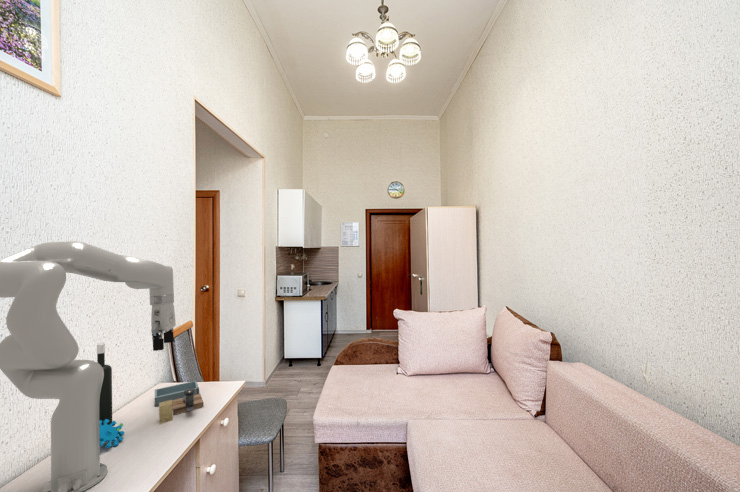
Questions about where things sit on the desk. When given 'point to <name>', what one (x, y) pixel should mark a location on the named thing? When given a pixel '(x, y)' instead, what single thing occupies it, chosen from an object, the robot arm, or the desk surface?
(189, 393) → the crank
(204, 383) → the desk surface
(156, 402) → the tray
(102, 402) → the wine bottle
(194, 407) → the crank base
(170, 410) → the block
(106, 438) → the blue lobed piece
